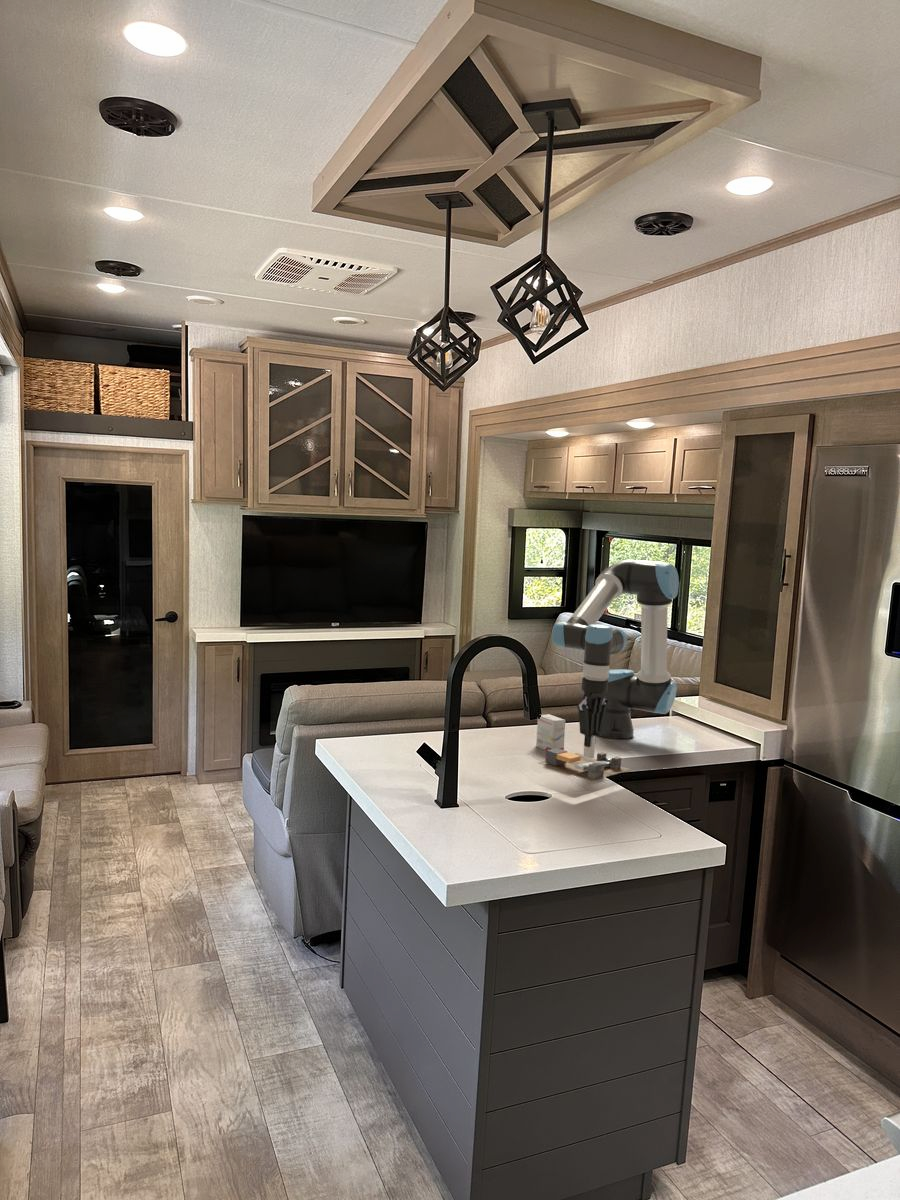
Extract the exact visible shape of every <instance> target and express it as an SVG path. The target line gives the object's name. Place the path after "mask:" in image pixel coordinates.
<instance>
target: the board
mask: <svg viewBox="0 0 900 1200" xmlns="http://www.w3.org/2000/svg"><path fill="white" fill-rule="evenodd" d="M574 754H576V755H579V756H581V759H580V761H577V762H573V763H568V762H566V764H562V765H559V766H554V765H551V764H548V763H545V762H546V760H542V761H539V762H537V764H539V765H542V766H545V767H549V768H551V769H554V770H558V771H561V772H564V773H566V774H570V775H573V776H574V777H575V776H576V777H578V778H581V779H584V780H588V781H591V782H592V781H596V780H600V779H604V778H606V777H610V776H614V775H618V774H621V773H624V772H627V771H631V769H630V768H627V767H624V766H622V757H619V756H615V757H612V758H611V760H612V765H611V766H609V767H604V763H600V762H597V763H593V764H590V765H589V766H588V770H585V771H582V770H579V769H576V768H575V765H576V764H583V763H590V762H596V761H603V759H604V758H607V754H608V753H606V752H603V751H602V752H597V754H596V758H595V757H594V758H588V757H585V756H584V754H581V753H578V752H575V753H574Z"/></svg>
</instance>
